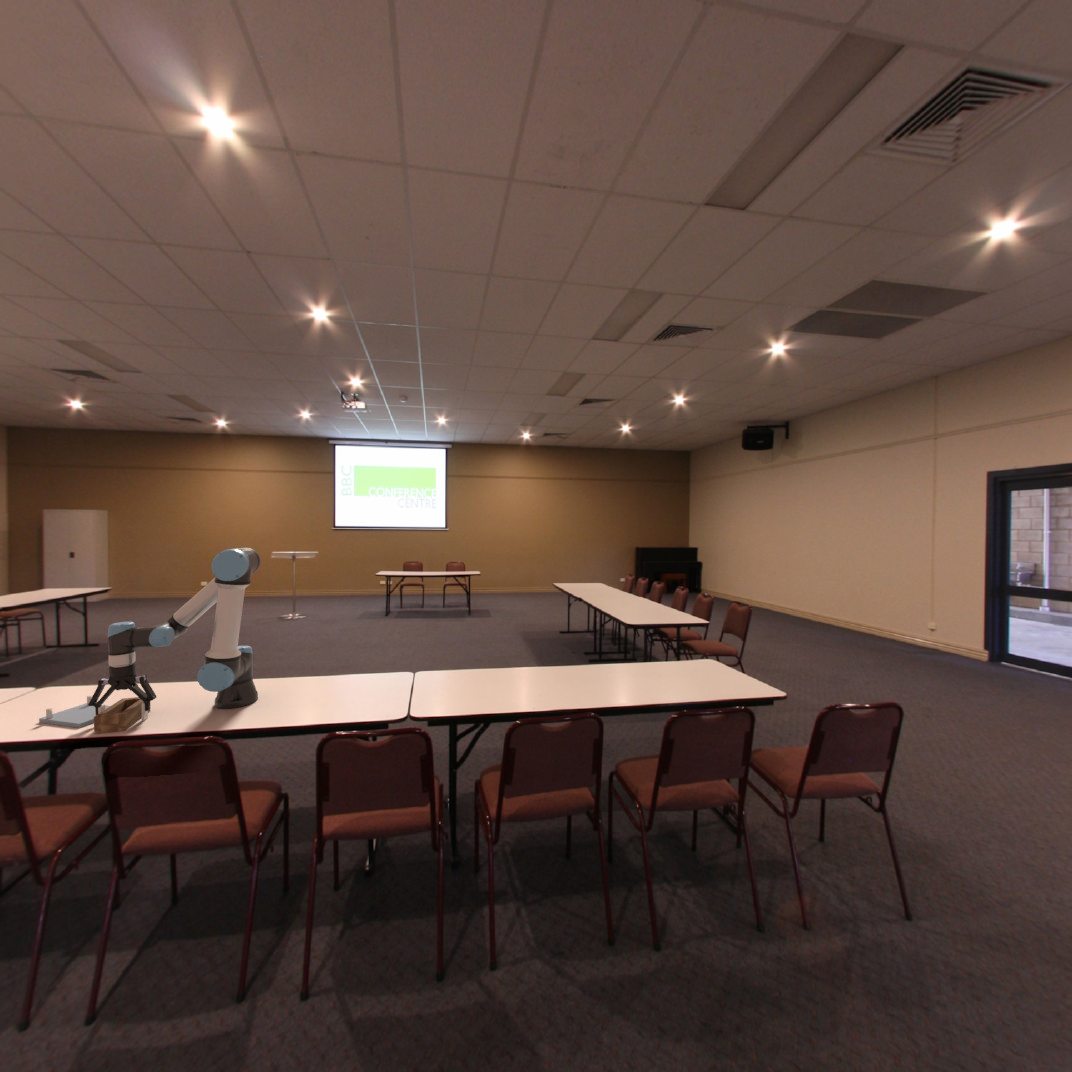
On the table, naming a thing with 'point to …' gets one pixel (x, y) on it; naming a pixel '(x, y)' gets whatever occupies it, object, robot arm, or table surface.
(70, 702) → the table surface
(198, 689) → the table surface
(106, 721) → the frame
